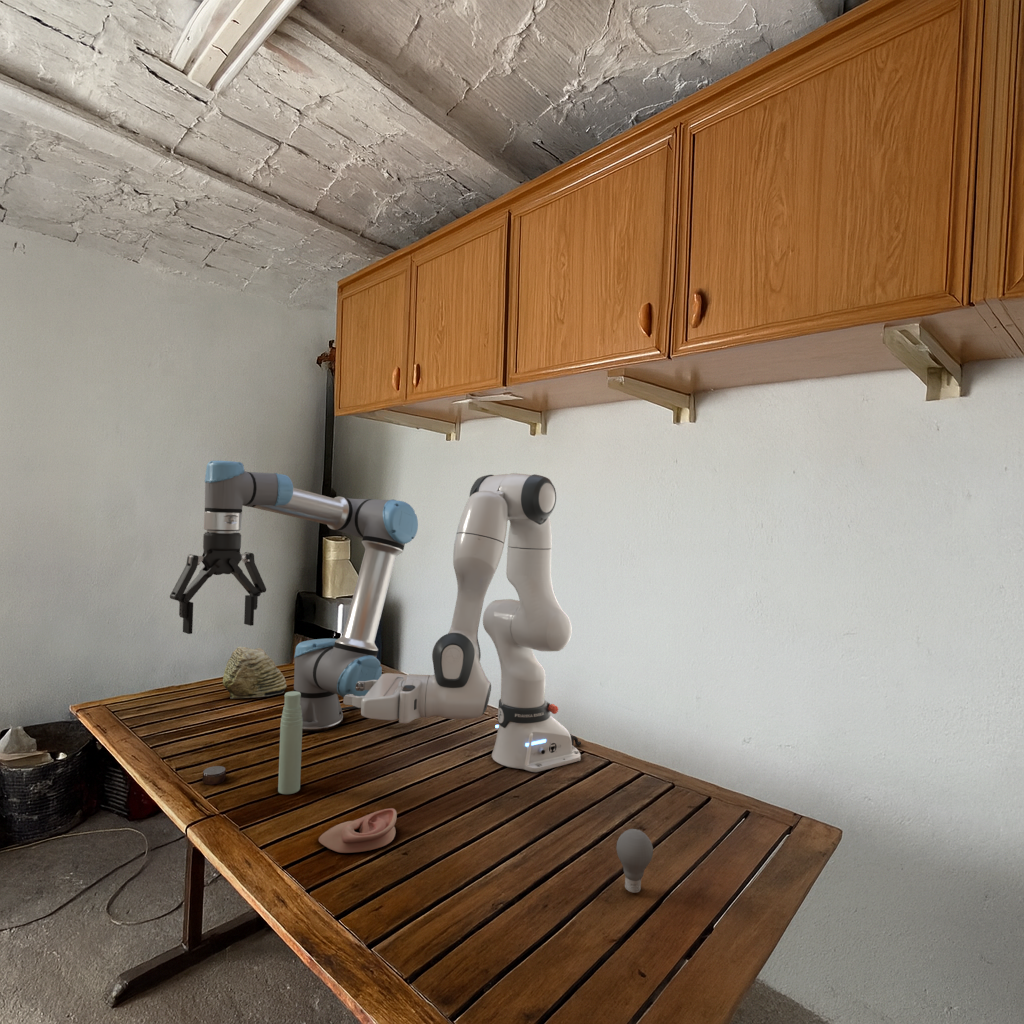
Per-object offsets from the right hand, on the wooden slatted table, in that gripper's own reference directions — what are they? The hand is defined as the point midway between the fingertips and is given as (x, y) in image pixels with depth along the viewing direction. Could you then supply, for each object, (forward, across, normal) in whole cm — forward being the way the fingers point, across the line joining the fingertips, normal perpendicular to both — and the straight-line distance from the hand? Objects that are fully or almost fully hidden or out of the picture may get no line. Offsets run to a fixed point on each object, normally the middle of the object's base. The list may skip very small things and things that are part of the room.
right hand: (350, 692), depth 136 cm
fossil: (+46, -61, +22) cm, 79 cm away
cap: (+30, -2, +20) cm, 36 cm away
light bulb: (-56, +30, +22) cm, 67 cm away
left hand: (+30, -2, -12) cm, 32 cm away
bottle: (+12, 0, +22) cm, 25 cm away
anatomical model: (-7, +18, +22) cm, 29 cm away
